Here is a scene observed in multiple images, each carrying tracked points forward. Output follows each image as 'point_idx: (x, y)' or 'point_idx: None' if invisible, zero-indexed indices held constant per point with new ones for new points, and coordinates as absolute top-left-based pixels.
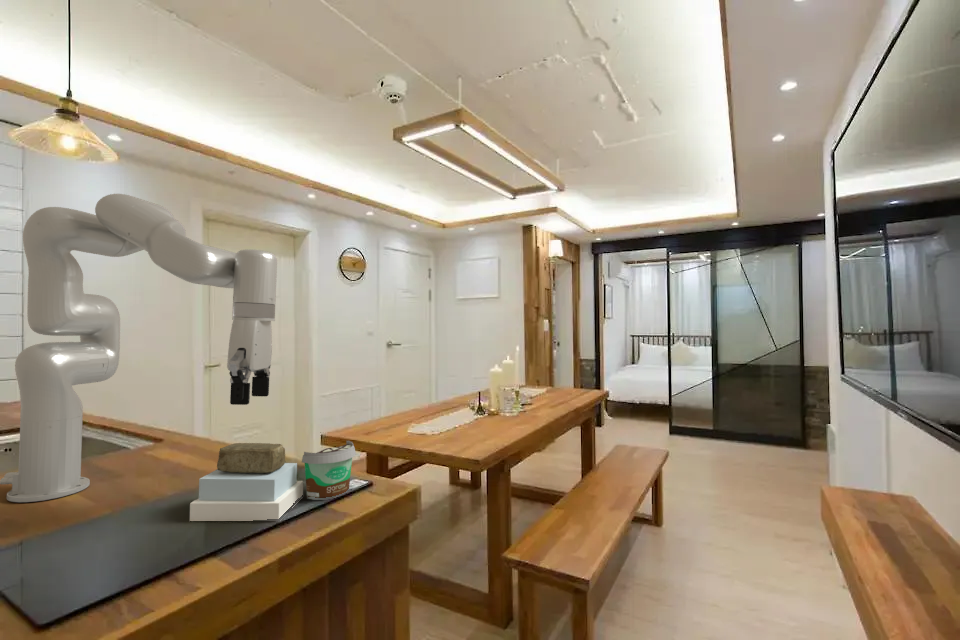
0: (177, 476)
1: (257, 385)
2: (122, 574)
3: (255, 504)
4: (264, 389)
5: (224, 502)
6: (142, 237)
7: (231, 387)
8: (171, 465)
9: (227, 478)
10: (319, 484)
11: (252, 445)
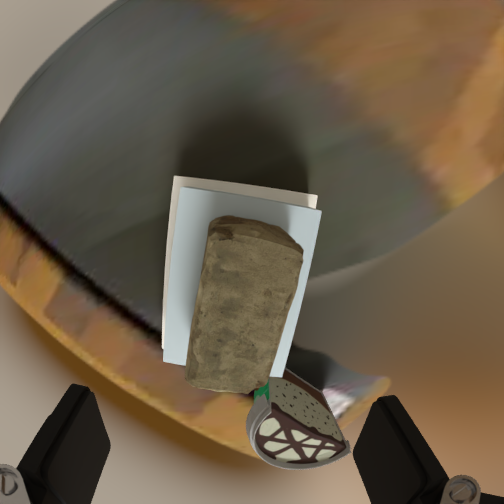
0: (427, 68)
1: (388, 464)
2: (32, 179)
3: (163, 307)
4: (364, 471)
5: (171, 246)
6: None
7: (34, 447)
8: (471, 51)
9: (175, 258)
10: (254, 393)
11: (242, 324)
